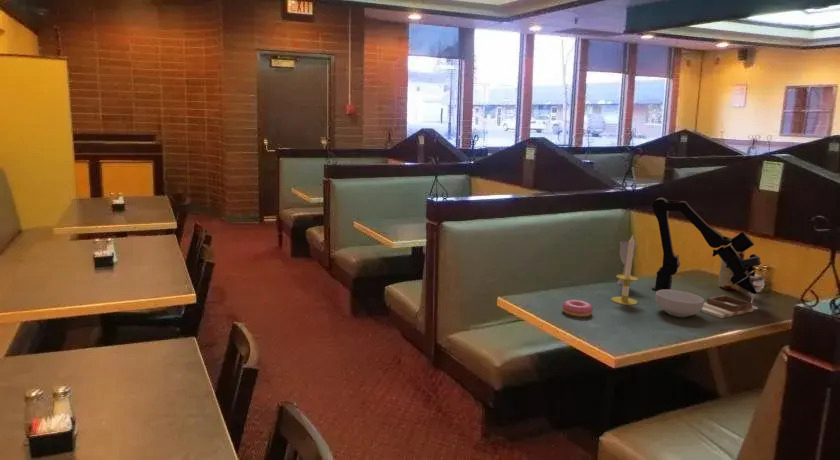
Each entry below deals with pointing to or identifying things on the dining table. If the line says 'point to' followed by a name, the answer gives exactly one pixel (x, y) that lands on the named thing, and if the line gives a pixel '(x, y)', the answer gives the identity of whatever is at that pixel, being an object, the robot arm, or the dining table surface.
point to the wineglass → (756, 285)
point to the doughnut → (577, 308)
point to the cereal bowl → (679, 302)
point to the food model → (728, 274)
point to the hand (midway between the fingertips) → (757, 292)
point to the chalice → (624, 256)
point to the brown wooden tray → (726, 306)
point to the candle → (627, 278)
